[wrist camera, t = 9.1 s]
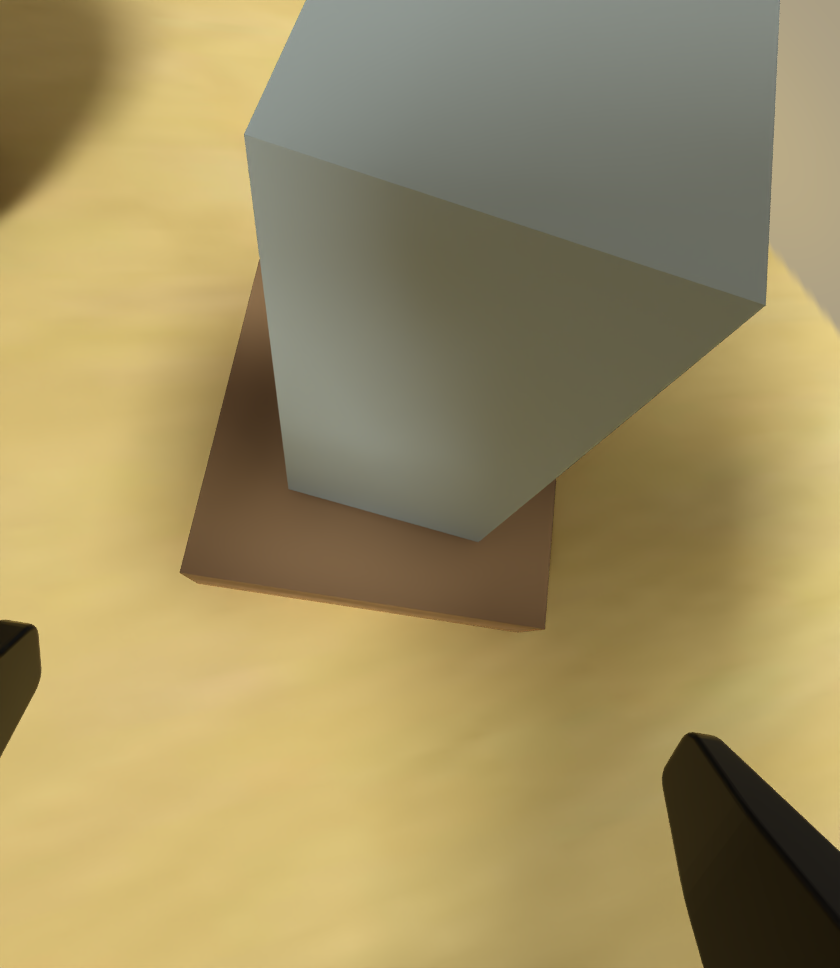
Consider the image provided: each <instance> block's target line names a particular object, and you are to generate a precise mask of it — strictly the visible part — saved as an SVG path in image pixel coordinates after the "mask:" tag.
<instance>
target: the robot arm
mask: <svg viewBox="0 0 840 968" xmlns="http://www.w3.org/2000/svg"><path fill="white" fill-rule="evenodd" d="M40 677H41V659H40V647H39V635H38V630H37V628H36V627H35V626H34V625H32V624H29V623H23V622H17V621H10V620H0V757H1V755H2V753H3V751H4V749H5V748H6V746H7V744H8V742H9V740H10V738H11V736H12V734H13V732H14V731H15V729H16V727H17V725H18V723H19V721H20V719H21V717H22V715H23V714H24V712H25V710H26V708H27V706H28V704H29V702H30V700H31V699H32V697H33V695H34V693H35V691H36V689H37V687H38V684H39V681H40ZM662 785H663V791H664V797H665V802H666V807H667V812H668V818H669V823H670V828H671V834H672V839H673V844H674V849H675V855H676V860H677V865H678V871H679V876H680V881H681V885H682V890H683V894H684V899H685V903H686V907H687V910H688V914H689V918H690V922H691V925H692V929H693V932H694V936H695V939H696V943H697V946H698V950H699V953H700V957H701V960H702V964H703V967H704V968H840V851H839V850H838V849H837V848H836V847H834V846H833V845H832V844H831V843H830V842H829V841H828V840H827V839H826V838H825V837H824V836H823V835H822V834H821V833H820V832H818V831H817V830H816V829H815V828H814V827H813V826H812V825H811V824H810V823H809V822H808V821H807V820H806V819H805V818H804V817H803V816H801V815H800V814H799V813H798V812H797V811H796V810H795V809H794V808H793V807H792V806H791V805H790V804H789V803H788V802H787V801H786V800H784V799H783V798H782V797H781V796H780V795H779V794H778V793H777V792H776V791H775V790H774V789H773V788H772V787H771V786H770V785H769V784H767V783H766V782H765V781H764V780H763V779H762V778H761V777H760V776H759V775H758V774H757V773H756V772H755V771H754V770H753V769H751V768H750V767H749V766H748V765H747V764H746V763H745V762H744V761H743V760H742V759H741V758H740V757H739V756H738V755H737V754H736V753H734V752H733V751H732V750H731V749H730V748H729V747H728V746H727V745H726V744H725V743H724V742H723V741H722V740H720V739H719V738H717V737H715V736H712V735H706V734H700V733H694V732H690V733H688V734H686V735H684V737H683V738H682V739H681V741H680V743H679V744H678V746H677V748H676V749H675V751H674V752H673V754H672V756H671V757H670V759H669V761H668V762H667V764H666V766H665V768H664V771H663V776H662Z"/></svg>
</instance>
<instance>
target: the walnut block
mask: <svg viewBox="0 0 840 968" xmlns="http://www.w3.org/2000/svg"><path fill="white" fill-rule="evenodd" d="M555 486H556V479H554V480H553V481H552V482H551V483H550V484H548V485H547V486H546V487H545V488H544V489H542V490H541V491H540V492H539V493H538V494H536V495H535V496H534V497H533V498H531V499H530V500H529V501H528V502H527V503H525V504H524V505H523V506H522V507H521V508H519V509H518V510H517V511H516V512H514V513H513V514H512V515H511V516H510V517H508V518H507V519H506V520H505V521H504V522H502V523H501V524H500V525H499V526H498V527H496V528H495V529H494V530H493V531H491V532H490V533H489V534H488V535H487V536H485V537H484V538H483V539H482V540H481V541H479V542H476V541H472V540H469V539H465V538H461V537H458V536H454V535H451V534H447V533H444V532H440V531H436V530H433V529H429V528H426V527H422V526H419V525H415V524H411V523H408V522H404V521H401V520H397V519H394V518H390V517H386V516H383V515H379V514H376V513H372V512H369V511H365V510H361V509H358V508H354V507H351V506H347V505H344V504H340V503H336V502H333V501H329V500H326V499H322V498H319V497H315V496H311V495H308V494H304V493H301V492H297V491H294V490H290V489H288V481H287V473H286V465H285V457H284V449H283V441H282V433H281V425H280V417H279V409H278V401H277V393H276V385H275V377H274V369H273V361H272V353H271V345H270V337H269V329H268V321H267V313H266V305H265V297H264V289H263V281H262V273H261V265H260V259H259V263H258V267H257V271H256V275H255V279H254V282H253V286H252V290H251V294H250V298H249V302H248V306H247V310H246V314H245V318H244V322H243V326H242V330H241V334H240V338H239V341H238V345H237V349H236V353H235V357H234V361H233V365H232V369H231V373H230V377H229V381H228V385H227V389H226V393H225V396H224V400H223V404H222V408H221V412H220V416H219V420H218V424H217V428H216V432H215V436H214V440H213V444H212V448H211V451H210V455H209V459H208V463H207V467H206V471H205V475H204V479H203V483H202V487H201V491H200V495H199V499H198V503H197V506H196V510H195V514H194V518H193V522H192V526H191V530H190V534H189V538H188V542H187V546H186V550H185V554H184V558H183V562H182V565H181V569H180V573H181V574H183V575H184V576H186V577H188V578H189V579H191V580H193V581H195V582H196V583H198V584H205V585H212V586H218V587H225V588H231V589H238V590H244V591H251V592H257V593H264V594H270V595H277V596H284V597H290V598H297V599H303V600H310V601H316V602H323V603H329V604H336V605H342V606H349V607H355V608H362V609H369V610H375V611H382V612H388V613H395V614H401V615H408V616H414V617H421V618H427V619H434V620H441V621H447V622H454V623H460V624H467V625H473V626H480V627H486V628H493V629H499V630H506V631H513V632H525V631H533V630H542V629H545V622H546V608H547V595H548V581H549V568H550V554H551V541H552V527H553V513H554V500H555Z"/></svg>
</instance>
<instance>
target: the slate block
mask: <svg viewBox="0 0 840 968" xmlns="http://www.w3.org/2000/svg"><path fill="white" fill-rule="evenodd" d="M779 10H780V0H306V1H305V3H304V6H303V8H302V10H301V12H300V14H299V16H298V19H297V21H296V23H295V25H294V27H293V29H292V32H291V34H290V36H289V38H288V40H287V42H286V45H285V47H284V49H283V51H282V53H281V55H280V58H279V60H278V62H277V64H276V66H275V68H274V71H273V73H272V75H271V77H270V79H269V81H268V84H267V86H266V88H265V90H264V92H263V94H262V97H261V99H260V101H259V103H258V105H257V107H256V110H255V112H254V114H253V116H252V118H251V120H250V123H249V125H248V127H247V129H246V131H245V133H244V137H245V145H246V153H247V161H248V169H249V177H250V185H251V193H252V201H253V209H254V217H255V225H256V233H257V241H258V249H259V257H260V265H261V273H262V281H263V289H264V297H265V305H266V313H267V321H268V329H269V337H270V345H271V353H272V361H273V369H274V377H275V385H276V393H277V401H278V409H279V417H280V425H281V433H282V441H283V449H284V457H285V465H286V473H287V481H288V489H290V490H294V491H297V492H301V493H304V494H308V495H311V496H315V497H319V498H322V499H326V500H329V501H333V502H336V503H340V504H344V505H347V506H351V507H354V508H358V509H361V510H365V511H369V512H372V513H376V514H379V515H383V516H386V517H390V518H394V519H397V520H401V521H404V522H408V523H411V524H415V525H419V526H422V527H426V528H429V529H433V530H436V531H440V532H444V533H447V534H451V535H454V536H458V537H461V538H465V539H469V540H472V541H476V542H479V541H481V540H482V539H483V538H484V537H485V536H487V535H488V534H489V533H490V532H491V531H493V530H494V529H495V528H496V527H498V526H499V525H500V524H501V523H502V522H504V521H505V520H506V519H507V518H508V517H510V516H511V515H512V514H513V513H514V512H516V511H517V510H518V509H519V508H521V507H522V506H523V505H524V504H525V503H527V502H528V501H529V500H530V499H531V498H533V497H534V496H535V495H536V494H538V493H539V492H540V491H541V490H542V489H544V488H545V487H546V486H547V485H548V484H550V483H551V482H552V481H553V480H554V479H556V478H557V477H558V476H559V475H561V474H562V473H563V472H564V471H565V470H567V469H568V468H569V467H570V466H571V465H573V464H574V463H575V462H576V461H578V460H579V459H580V458H581V457H582V456H584V455H585V454H586V453H587V452H588V451H590V450H591V449H592V448H593V447H594V446H596V445H597V444H598V443H599V442H601V441H602V440H603V439H604V438H605V437H607V436H608V435H609V434H610V433H611V432H613V431H614V430H615V429H616V428H617V427H619V426H620V425H621V424H622V423H624V422H625V421H626V420H627V419H628V418H630V417H631V416H632V415H633V414H634V413H636V412H637V411H638V410H639V409H641V408H642V407H643V406H644V405H645V404H647V403H648V402H649V401H650V400H651V399H653V398H654V397H655V396H656V395H657V394H659V393H660V392H661V391H662V390H664V389H665V388H666V387H667V386H668V385H670V384H671V383H672V382H673V381H674V380H676V379H677V378H678V377H679V376H681V375H682V374H683V373H684V372H685V371H687V370H688V369H689V368H690V367H691V366H693V365H694V364H695V363H696V362H697V361H699V360H700V359H701V358H702V357H704V356H705V355H706V354H707V353H708V352H710V351H711V350H712V349H713V348H714V347H716V346H717V345H718V344H719V343H721V342H722V341H723V340H724V339H725V338H727V337H728V336H729V335H730V334H731V333H733V332H734V331H735V330H736V329H737V328H739V327H740V326H741V325H742V324H744V323H745V322H746V321H747V320H748V319H750V318H751V317H752V316H753V315H754V314H756V313H757V312H758V311H759V310H761V309H762V308H763V307H764V306H765V305H766V287H767V266H768V244H769V223H770V221H769V220H770V202H771V201H770V200H771V180H772V159H773V138H774V116H775V94H776V73H777V53H778V52H777V51H778V30H779Z"/></svg>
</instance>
